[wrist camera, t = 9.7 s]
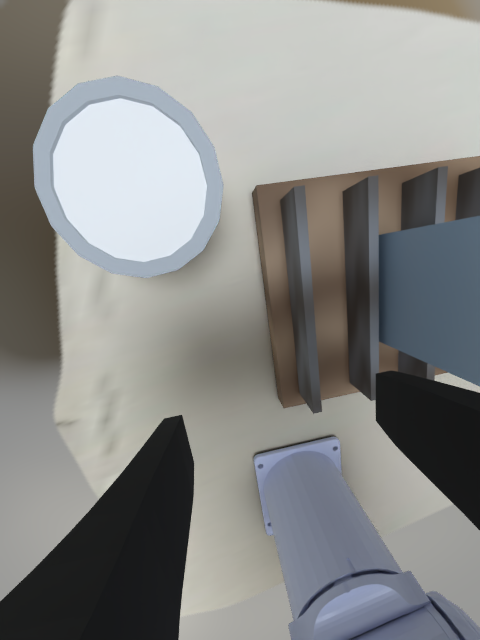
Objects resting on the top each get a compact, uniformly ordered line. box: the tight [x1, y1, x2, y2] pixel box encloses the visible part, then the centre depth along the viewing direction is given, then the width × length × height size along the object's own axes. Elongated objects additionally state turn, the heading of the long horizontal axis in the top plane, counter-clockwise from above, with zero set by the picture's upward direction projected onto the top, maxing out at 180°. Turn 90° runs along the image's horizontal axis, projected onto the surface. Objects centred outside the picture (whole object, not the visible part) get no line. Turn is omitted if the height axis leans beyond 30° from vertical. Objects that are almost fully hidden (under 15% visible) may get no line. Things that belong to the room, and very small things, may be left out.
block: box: [379, 216, 480, 386], centre depth 13 cm, size 7×2×8 cm, turn 9°
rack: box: [252, 156, 480, 414], centre depth 16 cm, size 16×16×4 cm
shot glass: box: [33, 76, 223, 278], centre depth 12 cm, size 7×7×7 cm
